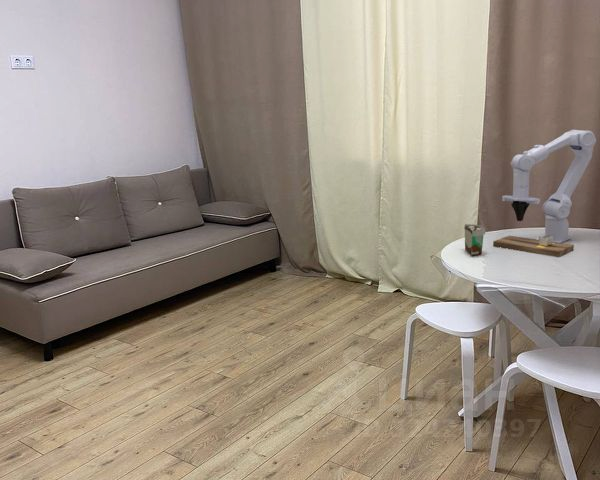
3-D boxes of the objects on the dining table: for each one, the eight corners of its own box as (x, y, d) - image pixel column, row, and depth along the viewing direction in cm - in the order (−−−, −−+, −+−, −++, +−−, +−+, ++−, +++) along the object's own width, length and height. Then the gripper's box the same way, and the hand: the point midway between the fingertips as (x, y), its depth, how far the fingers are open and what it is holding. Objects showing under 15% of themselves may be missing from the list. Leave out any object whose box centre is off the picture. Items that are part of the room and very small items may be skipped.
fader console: (509, 240, 241) (509, 235, 240) (573, 250, 222) (573, 244, 221) (493, 246, 233) (493, 241, 233) (558, 257, 214) (558, 251, 214)
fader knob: (544, 242, 226) (545, 234, 225) (552, 243, 223) (553, 235, 223) (539, 244, 223) (539, 237, 222) (547, 245, 221) (547, 238, 220)
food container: (489, 256, 219) (489, 230, 217) (472, 257, 220) (472, 231, 217) (480, 248, 231) (480, 223, 229) (464, 249, 232) (464, 224, 229)
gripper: (498, 186, 232) (497, 220, 235) (534, 189, 221) (532, 224, 225) (507, 183, 236) (506, 217, 240) (543, 186, 226) (541, 221, 229)
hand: (519, 220), depth 232 cm, fingers closed
